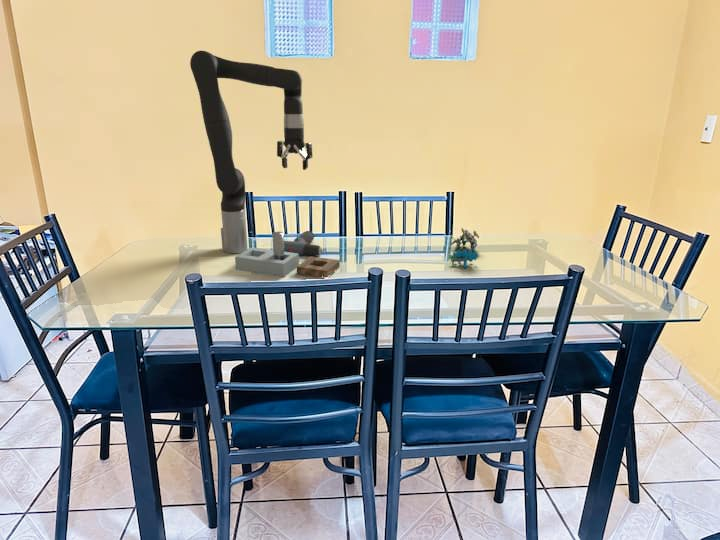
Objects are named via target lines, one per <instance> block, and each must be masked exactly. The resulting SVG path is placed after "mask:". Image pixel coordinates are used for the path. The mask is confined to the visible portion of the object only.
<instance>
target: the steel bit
mask: <svg viewBox="0 0 720 540" xmlns="http://www.w3.org/2000/svg"><path fill="white" fill-rule="evenodd" d="M284 238H285V235H284V232H283V231H274V232H272V250H273V254H274V259H276V260H284V259H285V253H284V241H285V239H284Z"/></svg>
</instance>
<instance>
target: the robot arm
mask: <svg viewBox="0 0 720 540" xmlns="http://www.w3.org/2000/svg"><path fill="white" fill-rule="evenodd" d="M190 57H191V58H190V60H189V61H190V62H189V66H190V69H191V73H192V75H193V78H194V82H195V85H196V88H197V91H198V94H199V100H200V106H201V113H202V118H203V123H204V128H205V133H206V136H207V140H208V144H209V148H210V151H211V155H212V159H213V165H214V171H215V173H214V174H215V181H216V185H217V188H218V189H219V190H220V192H221V202H220V211H221V213H220V214H221V222H222V223H221V224H222V227H220V235H221V236H220V237H221V238H220V239H221V248H222V250H221V251H223V252H225V253H227V254H241V253H243V252H244V251H246V250H248V249H249V248H248V235H247V221H246V206H245V205H246V183H245V182H246V181H245V176H244V174H243V173H242V171H241V170H240V169H238V168H236V167H235V163H234V158H233V131H232V126H231V121H230V117H229V113H228V110H227V107H226V105H225V101H224V100H223V97H222V95H221V91H220V87H219V79H229V80H237V81H240V82H244V83H247V84H253V85H259V86H265V87H275V88H279V89H281V90H282V89H283V94H284V100H283V114H284V115H283V136H284V137H283V138H284V141H283V140H278V141H277V142H276V143H277V144H276V156H277V158H278V157H279V158H281V166H282V168H283V169H287V168H288V158H287V157H288V156H289V154H294V155H295V154H298V155H299V156H300V157H301V159H302V170H303V171H305V170H307V169H308V167H309V160H311V159H312V158H313V144H312V142H311V141H310V142H305V141H304V140H305V131H304V129H305V128H304V126H305V123H304V113H303V111H304V109H303V99H302V97H303V96H302V92H303V91H302V89H303V88H302V86H303V85H302V84H303V78H302V76H301V74H300V72H298V71H297V70H294V69H288V68H287V69H286V68H278V67H277V68H276V67H274V66H270V65H265V64H261V63H260V64H259V63H251V62H242V61H235V60H229V59H225V58H222V57H219V56H218V55H217V56H216V55H214V54H212V53H211V52H209V51H206V50H197V51H195V52H194V53H193V54H192V56H190ZM284 147H285V149H284ZM304 147H305V149H306V151H305V149H304ZM283 150H284V151H283Z"/></svg>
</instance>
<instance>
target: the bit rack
mask: <svg viewBox="0 0 720 540" xmlns="http://www.w3.org/2000/svg"><path fill="white" fill-rule="evenodd" d="M284 253H285V259H284V260H276V259H274V254H273V249H267V248H260V247H253V246H252V247H250V248H248V250H246V251H244V252H242V253H238V254H237V255H236V256H234V260H235V261H234V263H235V270H236V271H237V270H238V271H243V272H244V271H245V272H249V273H250V272H251V273H257V274H261V275H263V274H264V275H269V276H274V277H275V276H276V277H283V278H285V277H286V276H288V275H290V274H291V273H292V272H293V271H294V270H297V266H298V265H299V264H300V255H299V254H298V253H291V252H284Z"/></svg>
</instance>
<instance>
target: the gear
mask: <svg viewBox="0 0 720 540" xmlns="http://www.w3.org/2000/svg"><path fill="white" fill-rule="evenodd" d="M477 258H479V254H478V253H477V251H472V249H468V251H467V249H466V248H465V249H462V251H461V250H456V252H453V253H452V254H448V259H449V260H450V262H451V266H452V267H453V268H454V267H455V263H462V262H463V268H464V269H467V268H468V267H467V263H468V262H470V263H472V262H473V261H477Z"/></svg>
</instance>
